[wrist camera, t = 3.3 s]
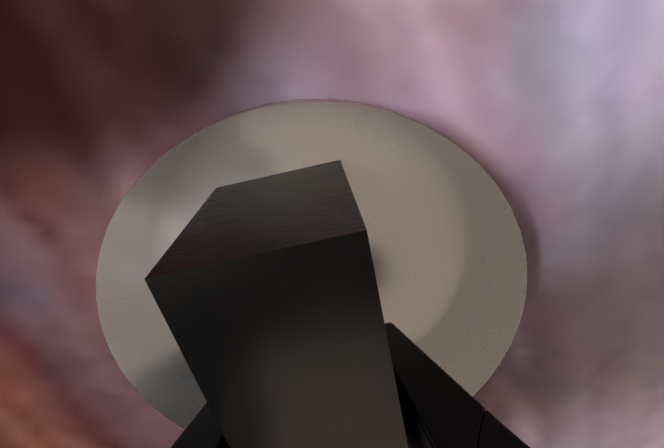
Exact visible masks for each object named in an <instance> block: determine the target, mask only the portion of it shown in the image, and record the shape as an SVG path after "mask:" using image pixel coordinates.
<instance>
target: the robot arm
mask: <svg viewBox="0 0 664 448" xmlns="http://www.w3.org/2000/svg"><path fill="white" fill-rule="evenodd" d="M385 328H386V333H387V339H388V344H389V349H390V354H391V360H392V365H393V370H394V375H395V381H396V386H397V391H398V396H399V402H400V407H401V412H402V417H403V423H404V428H405V433H406V438H407V444H408V447H409V448H530V447H529V446H528V445H526V444H525V443H524V442H523V441H521V440H520V439H519V438H518V437H517V436H516V435H514V434H513V433H512V432H511V431H510V430H509V429H508V428H506V427H505V426H504V425H503V424H502V423H501V422H500V421H499V420H498V419H496V418H495V417H494V416H493V415H492V414H491V413H490V412H489V411H487V410H486V411H485V408H484V407H483V406H482V405H481V404H480V403H479V402H478V401H477V400H476V399H474V398H473V397H472V396H471V395H470V394H469V393H468V392H467V391H466V390H465V389H464V388H462V387H461V386H460V385H459V384H458V383H457V382H456V381H455V380H454V379H453V378H452V377H451V376H449V375H448V374H447V373H446V372H445V371H444V370H443V369H442V368H441V367H440V366H439V365H437V364H436V363H435V362H434V361H433V360H432V359H431V358H430V357H429V356H428V355H427V354H425V353H424V352H423V351H422V350H421V349H420V348H419V347H418V346H417V345H416V344H415V343H413V342H412V341H411V340H410V339H409V338H408V337H407V336H406V335H405V334H404V333H403V332H402V331H400V330H399V329H398V328H397V327H396V326H395V325H394V324H393V323H391V322H389V323H385ZM171 448H230V447H229V445H228V443H227V441H226V439H225V437H224V435H223V433H222V431H221V429H220V427H219V425H218V423H217V421H216V419H215V417H214V415H213V413H212V411H211V409H210V407H209V405H208V403H207V402H206V403H205V404H204V406H203V407H202V408H201V410H200V411H199V412H198V413H197V415H196V416H195V417H194V419H193V420H192V421H191V423H190V424H189V425H188V426H187V428H186V429H185V430H184V432H183V433H182V434H181V435H180V437H179V438H178V439H177V441H176V442H175V443H174V444H173V446H172V447H171Z"/></svg>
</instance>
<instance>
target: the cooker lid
mask: <svg viewBox="0 0 664 448" xmlns="http://www.w3.org/2000/svg"><path fill="white" fill-rule="evenodd" d="M527 280H528V276H527V260H526V252H525V247H524V243H523V239H522V234H521V230H520V228H519V225H518V223H517V221H516V218H515V216H514V213H513V211H512V208H511V206H510V205H509V203H508V202H507V200H506V198H505V197H504V195H503V193H502V192H501V190H500V188H499V187H498V185H497V184H496V183H495V182H494V180H493V179H492V178H491V177H490V176H489V175H488V174H487V172H486V171H485V170H484V169H483V168H482V167H481V165H480V164H479V163H478V162H476V161H475V160H474V159H473V158H472V157H471V156H469V155H468V154H467V153H466V152H465V151H463V150H462V149H461V148H460V147H459V146H458V145H456V144H455V143H453V142H452V141H450V140H448V139H447V138H445V137H443V136H442V135H440V134H439V133H437V132H435V131H434V130H432V129H430V128H429V127H426V126H424V125H422V124H420V123H418V122H415V121H413V120H411V119H408V118H406V117H404V116H401V115H399V114H396V113H394V112H392V111H389V110H386V109H382V108H378V107H374V106H371V105H367V104H363V103H359V102H350V101H342V100H334V99H296V100H290V101H283V102H277V103H271V104H264V105H261V106H258V107H255V108H251V109H248V110H245V111H242V112H238V113H235V114H233V115H230V116H228V117H226V118H224V119H222V120H220V121H218V122H216V123H213V124H211V125H209V126H207V127H205V128H203V129H201V130H200V131H198V132H196V133H194V134H193V135H191V136H190V137H188V138H187V139H185V140H183V141H182V142H180V143H179V144H177V145H176V146H174V147H173V148H171V149H170V150H168V151H167V152H166V153H165V154H163V155H162V156H161V157H160V158H159V159H158V160H157V161H156V162H155V163H154V164H152V165H151V166H150V167H149V168H148V169H147V170H146V171H145V172H144V173H143V174H142V175H141V176H140V177H139V179H138V180H137V181H136V182H135V184H134V185H133V186H132V187H131V189H130V190H129V191H128V192H127V194H126V195H125V196H124V197H123V199H122V201H121V203H120V205H119V206H118V208H117V210H116V212H115V214H114V215H113V217H112V219H111V221H110V223H109V225H108V228H107V231H106V234H105V237H104V240H103V242H102V245H101V248H100V254H99V260H98V266H97V272H96V302H97V307H98V313H99V319H100V324H101V327H102V330H103V333H104V336H105V339H106V342H107V345H108V347H109V349H110V351H111V353H112V355H113V356H114V358H115V360H116V362H117V364H118V366H119V368H120V369H121V370H122V372H123V373H124V375H125V376H126V377H127V379H128V380H129V382H130V383H131V384H132V386H133V387H134V388H135V389H136V390H137V391H138V392H139V393H140V394H141V395H142V396H143V397H144V398H145V399H146V401H147V402H149V403H150V404H151V405H152V406H153V407H155V408H156V409H157V410H158V411H159V412H161V413H162V414H163V415H164V416H165V417H167V418H168V419H170V420H171V421H173V422H174V423H176V424H177V425H179V426H181V427H182V428H184V429H186V428H187V426H188V425H189V424H190V423H191V421H192V420H193V419H194V417H195V416H196V415H197V413H198V412H199V411H200V410H201V408H202V407H203V406H204V404H205V403H206V402H207V403H208V405H209V407H210V409H211V411H212V413H213V415H214V417H215V419H216V421H217V423H218V425H219V427H220V429H221V431H222V433H223V435H224V437H225V439H226V441H227V443H228V445H229V447H230V448H408V444H407V438H406V433H405V428H404V423H403V417H402V412H401V407H400V402H399V396H398V391H397V386H396V381H395V375H394V370H393V365H392V360H391V354H390V349H389V344H388V339H387V333H386V328H385V323H389V322H391V323H393V324H394V325H395V326H396V327H397V328H398V329H399V330H400V331H402V332H403V333H404V334H405V335H406V336H407V337H408V338H409V339H410V340H411V341H412V342H413V343H415V344H416V345H417V346H418V347H419V348H420V349H421V350H422V351H423V352H424V353H425V354H427V355H428V356H429V357H430V358H431V359H432V360H433V361H434V362H435V363H436V364H437V365H439V366H440V367H441V368H442V369H443V370H444V371H445V372H446V373H447V374H448V375H449V376H451V377H452V378H453V379H454V380H455V381H456V382H457V383H458V384H459V385H460V386H461V387H462V388H464V389H465V390H466V391H467V392H468V393H469V394H470V395H471V396H472V397H473V396H474V395H475V394H476V393H477V392H478V390H479V389H480V388H481V387H482V386H483V385H484V384H485V383H486V382H487V381H488V380H489V378H490V377H491V376H492V374H493V373H494V372H495V370H496V369H497V367H498V366H499V365H500V363H501V362H502V360H503V358H504V357H505V355H506V353H507V351H508V349H509V348H510V346H511V344H512V342H513V339H514V337H515V334H516V332H517V329H518V327H519V325H520V322H521V317H522V313H523V309H524V305H525V301H526V291H527Z"/></svg>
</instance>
